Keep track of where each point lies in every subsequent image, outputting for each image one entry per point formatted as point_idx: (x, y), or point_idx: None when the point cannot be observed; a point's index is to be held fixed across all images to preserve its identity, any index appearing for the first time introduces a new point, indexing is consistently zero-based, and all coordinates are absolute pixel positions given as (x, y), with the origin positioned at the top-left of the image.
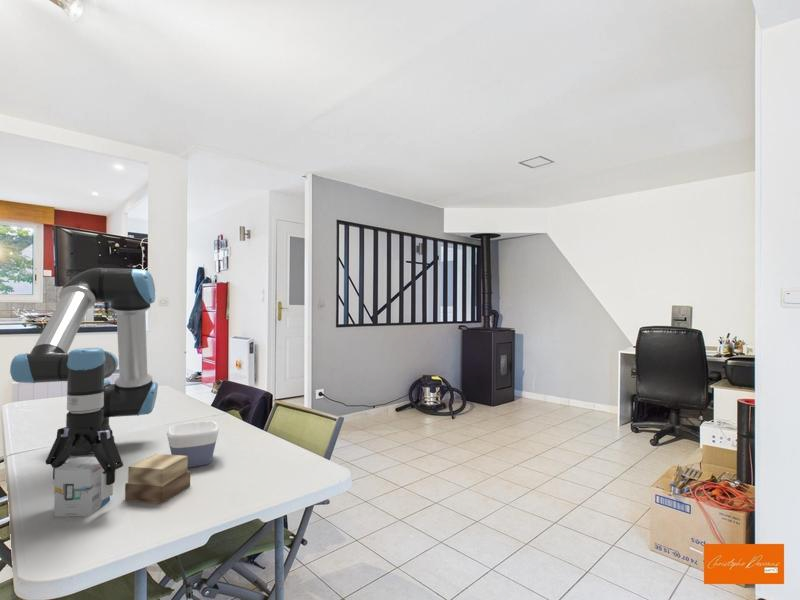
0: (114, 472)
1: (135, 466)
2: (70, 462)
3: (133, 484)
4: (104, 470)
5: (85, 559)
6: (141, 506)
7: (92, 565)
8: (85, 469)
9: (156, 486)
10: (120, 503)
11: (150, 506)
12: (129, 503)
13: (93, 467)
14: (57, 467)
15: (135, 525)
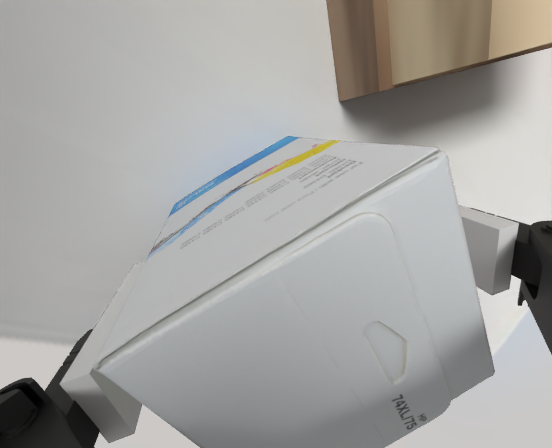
0: (527, 229)
1: (538, 30)
2: (236, 438)
3: (425, 79)
4: (526, 294)
5: (489, 324)
6: (439, 116)
7: (513, 324)
8: (462, 390)
9: (543, 47)
10: (352, 135)
11: (468, 101)
12: (383, 119)
13: (488, 353)
14: (98, 428)
15: (498, 206)
